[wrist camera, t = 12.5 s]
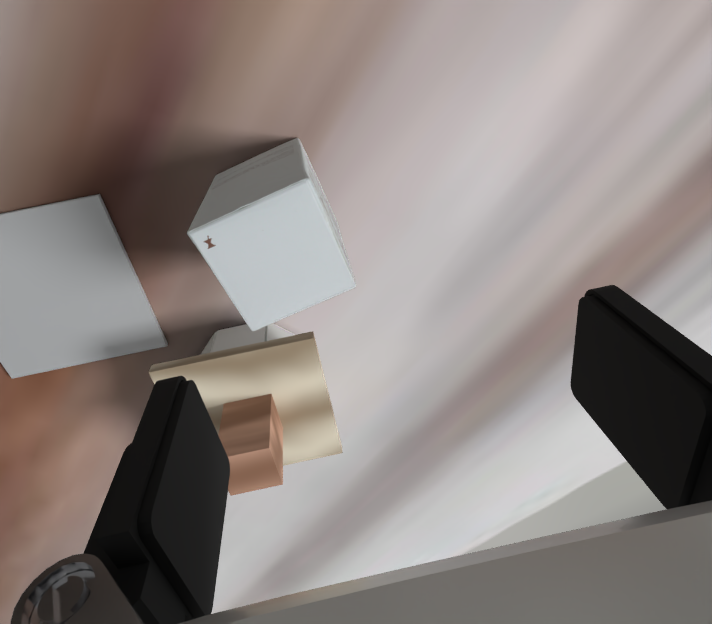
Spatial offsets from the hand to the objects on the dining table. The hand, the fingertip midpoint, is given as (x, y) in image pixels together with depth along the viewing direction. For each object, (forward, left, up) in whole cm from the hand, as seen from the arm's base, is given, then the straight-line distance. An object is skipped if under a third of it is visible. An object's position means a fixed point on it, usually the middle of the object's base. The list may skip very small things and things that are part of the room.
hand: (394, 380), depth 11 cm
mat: (+7, -24, -28) cm, 38 cm away
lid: (+19, -10, -23) cm, 31 cm away
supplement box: (+3, -4, -29) cm, 29 cm away
